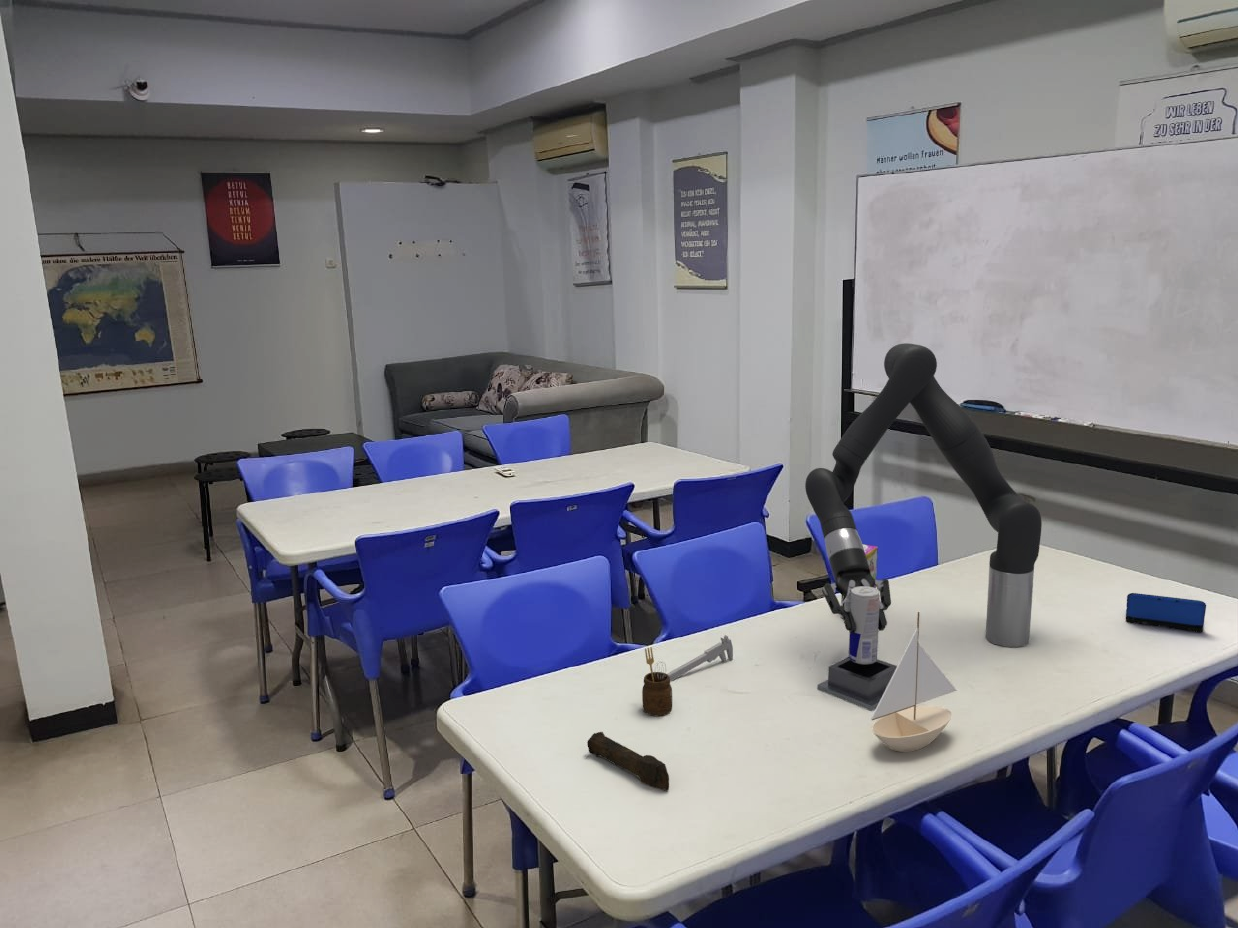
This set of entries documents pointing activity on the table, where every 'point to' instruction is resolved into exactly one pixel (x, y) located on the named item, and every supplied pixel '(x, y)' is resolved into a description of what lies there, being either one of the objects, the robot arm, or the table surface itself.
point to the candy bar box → (870, 561)
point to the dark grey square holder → (858, 681)
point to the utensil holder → (656, 690)
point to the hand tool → (630, 761)
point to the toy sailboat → (912, 702)
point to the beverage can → (864, 625)
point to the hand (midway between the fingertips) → (867, 629)
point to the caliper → (706, 657)
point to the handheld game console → (1165, 612)
